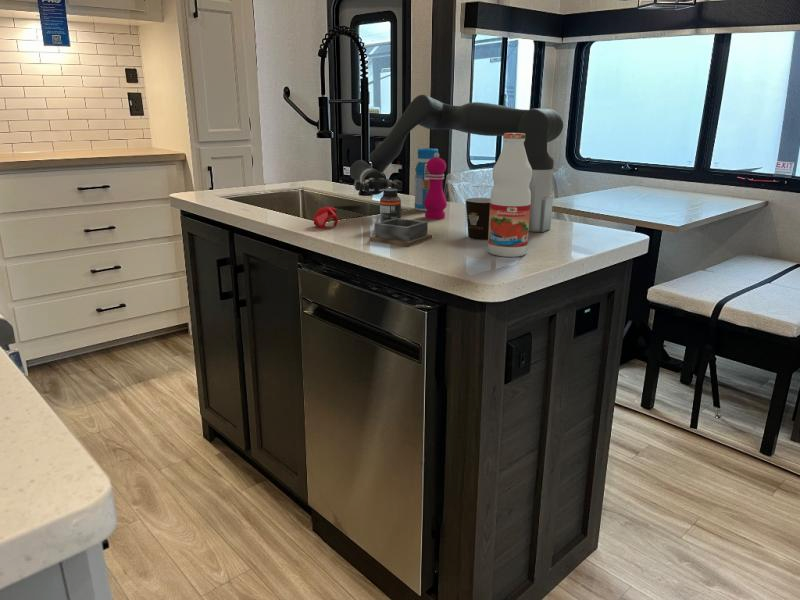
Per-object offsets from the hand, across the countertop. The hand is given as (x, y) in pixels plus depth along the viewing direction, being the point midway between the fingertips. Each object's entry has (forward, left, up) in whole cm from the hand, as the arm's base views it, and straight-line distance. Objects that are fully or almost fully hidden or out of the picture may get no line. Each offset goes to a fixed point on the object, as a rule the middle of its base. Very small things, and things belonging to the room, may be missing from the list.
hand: (382, 188), depth 183 cm
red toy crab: (+9, +16, -10) cm, 21 cm away
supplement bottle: (-8, +8, -10) cm, 15 cm away
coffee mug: (-35, +4, -10) cm, 37 cm away
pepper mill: (-9, -16, -10) cm, 21 cm away
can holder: (-18, +18, -10) cm, 28 cm away
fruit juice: (-47, +16, -10) cm, 51 cm away
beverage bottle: (+1, -28, -10) cm, 30 cm away
